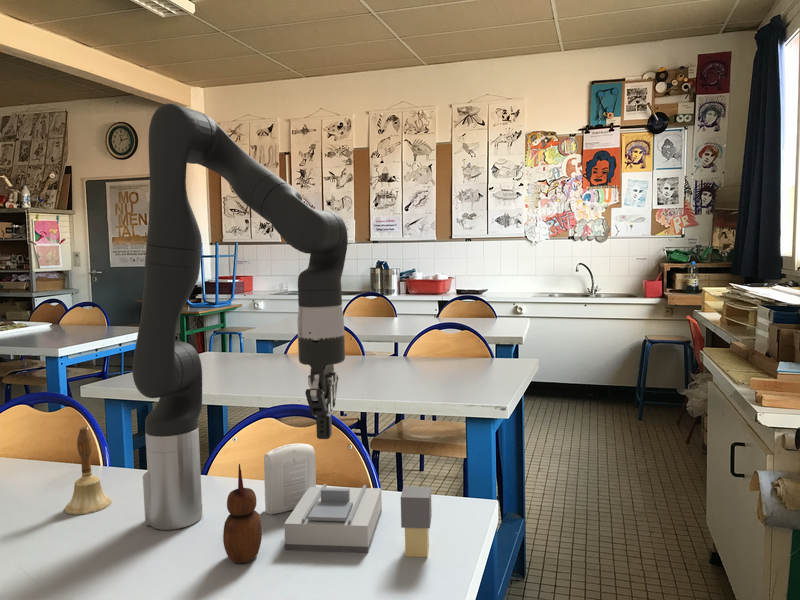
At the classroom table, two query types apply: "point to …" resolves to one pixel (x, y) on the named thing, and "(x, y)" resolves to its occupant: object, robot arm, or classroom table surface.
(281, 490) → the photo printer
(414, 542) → the plug
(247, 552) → the wooden figurine
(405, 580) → the classroom table surface
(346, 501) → the shutter
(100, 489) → the hand bell
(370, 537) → the socket
